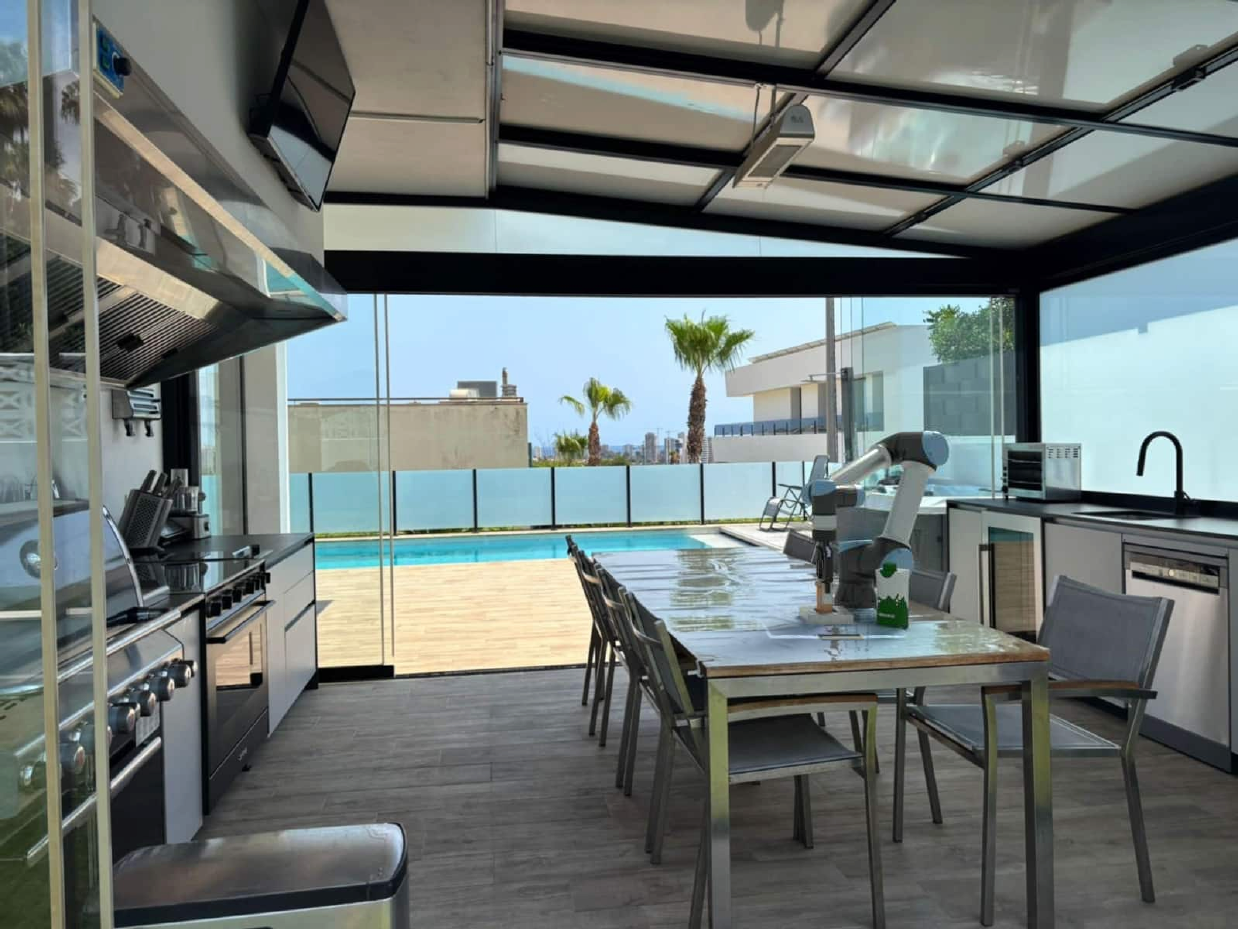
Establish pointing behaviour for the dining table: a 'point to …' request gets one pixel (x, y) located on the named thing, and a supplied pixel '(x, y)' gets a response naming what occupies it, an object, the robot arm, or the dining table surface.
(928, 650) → the dining table surface
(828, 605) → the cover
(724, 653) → the dining table surface
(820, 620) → the housing
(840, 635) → the mat
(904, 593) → the milk carton
